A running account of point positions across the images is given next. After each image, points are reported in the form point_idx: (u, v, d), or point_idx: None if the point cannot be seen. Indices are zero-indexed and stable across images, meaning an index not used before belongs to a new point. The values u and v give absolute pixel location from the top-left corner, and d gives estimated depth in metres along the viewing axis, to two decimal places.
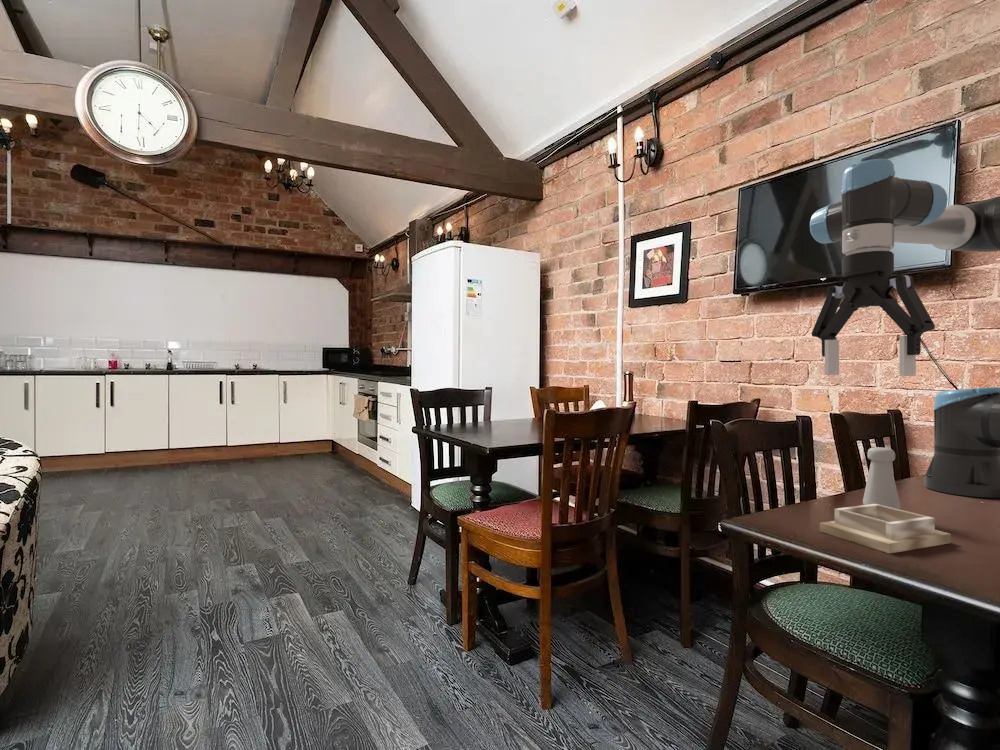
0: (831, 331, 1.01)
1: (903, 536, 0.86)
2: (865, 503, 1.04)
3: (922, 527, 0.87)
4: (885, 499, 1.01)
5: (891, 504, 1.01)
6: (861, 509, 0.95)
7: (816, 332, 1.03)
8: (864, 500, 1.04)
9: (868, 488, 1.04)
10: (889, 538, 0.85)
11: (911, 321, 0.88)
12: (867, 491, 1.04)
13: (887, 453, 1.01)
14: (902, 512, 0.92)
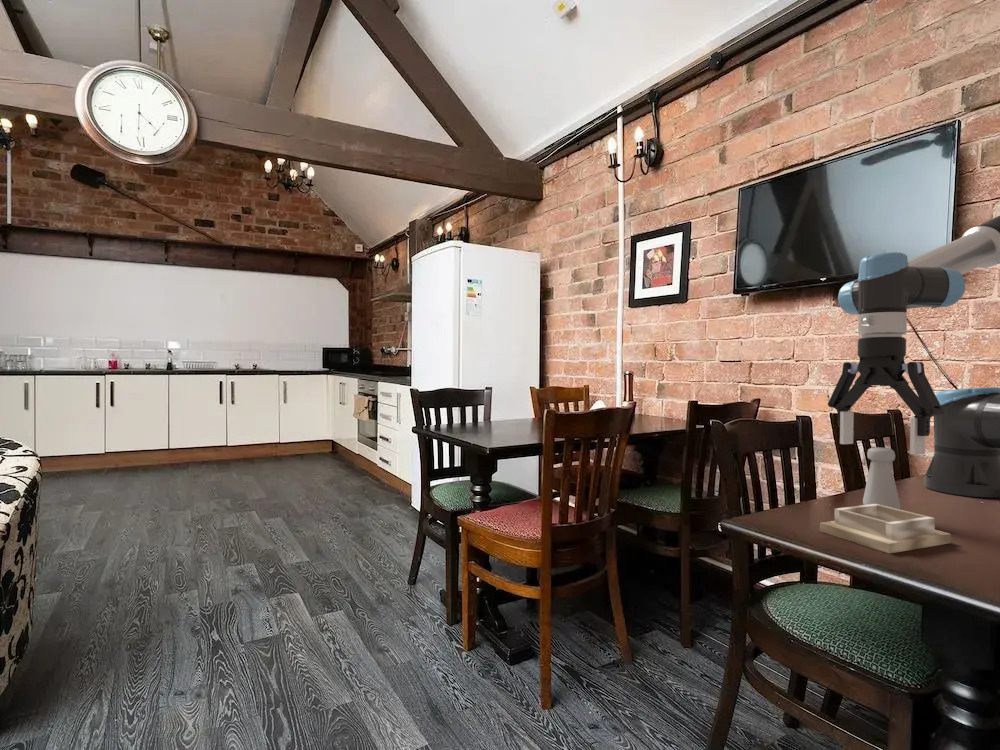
0: (846, 404, 1.09)
1: (903, 536, 0.86)
2: (865, 503, 1.04)
3: (922, 527, 0.87)
4: (885, 499, 1.01)
5: (891, 504, 1.01)
6: (861, 509, 0.95)
7: (832, 403, 1.11)
8: (864, 500, 1.04)
9: (868, 488, 1.04)
10: (889, 538, 0.85)
11: (921, 404, 0.96)
12: (867, 491, 1.04)
13: (887, 453, 1.01)
14: (902, 512, 0.92)
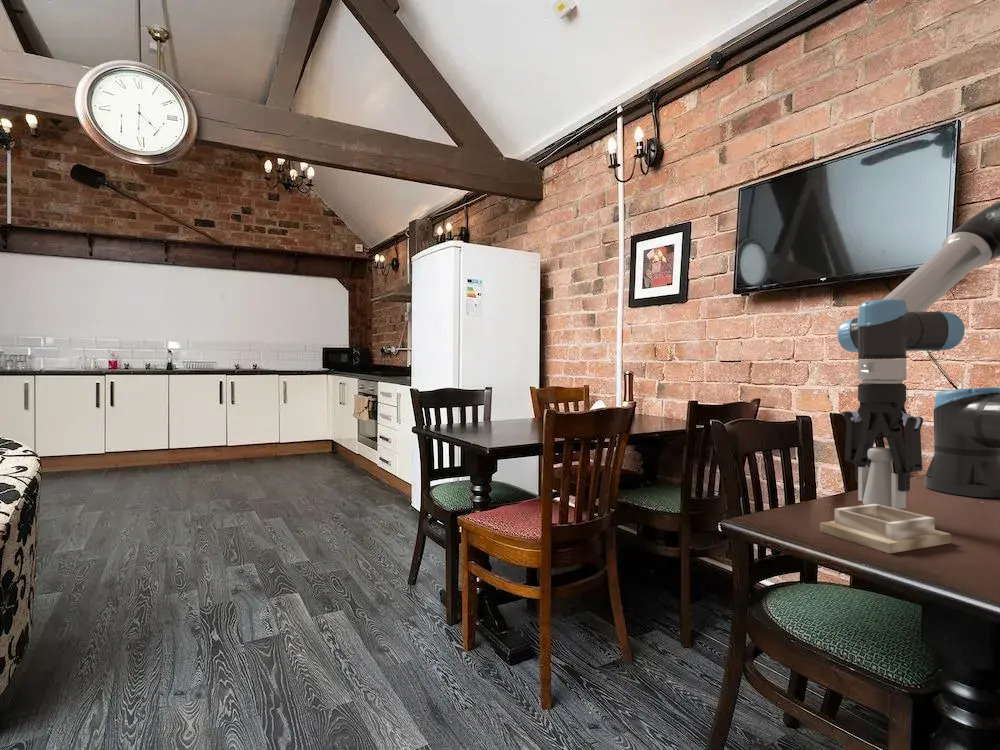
0: (862, 456, 1.06)
1: (903, 536, 0.86)
2: (865, 503, 1.04)
3: (922, 527, 0.87)
4: (885, 499, 1.01)
5: None
6: (861, 509, 0.95)
7: (849, 456, 1.08)
8: (864, 500, 1.04)
9: (868, 488, 1.04)
10: (889, 538, 0.85)
11: (905, 460, 0.99)
12: (867, 491, 1.04)
13: (887, 453, 1.01)
14: (902, 512, 0.92)
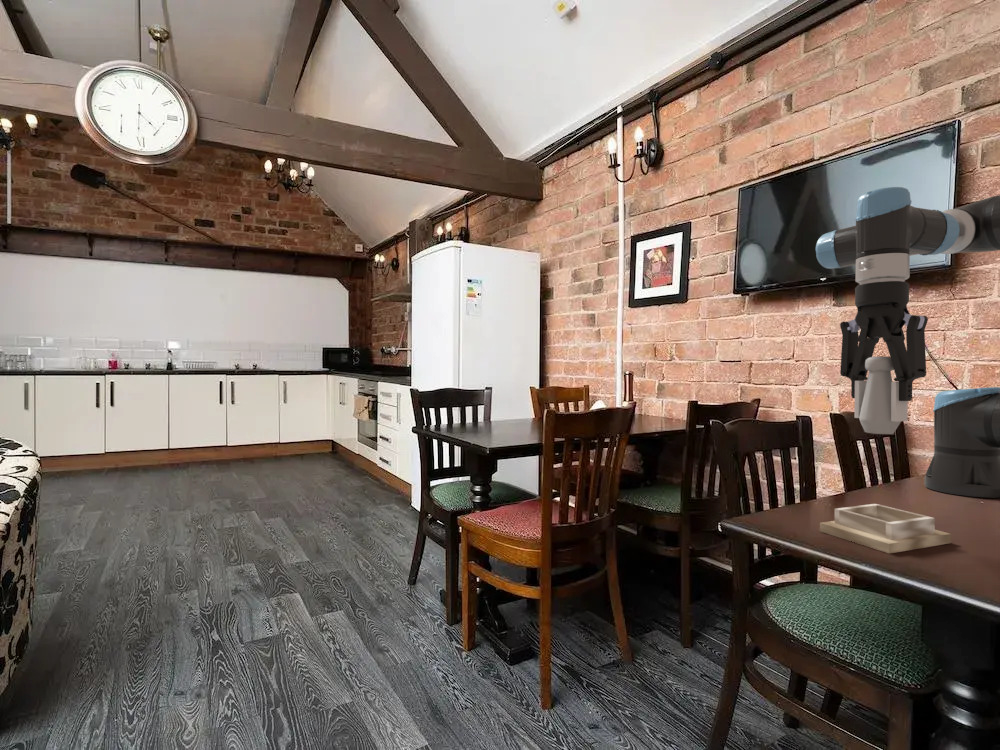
0: (859, 369, 0.95)
1: (903, 536, 0.86)
2: (862, 418, 0.93)
3: (922, 527, 0.87)
4: (883, 412, 0.90)
5: (890, 416, 0.90)
6: (861, 509, 0.95)
7: (845, 371, 0.97)
8: (861, 415, 0.93)
9: (865, 401, 0.93)
10: (889, 538, 0.85)
11: (907, 366, 0.89)
12: (864, 405, 0.93)
13: (887, 360, 0.91)
14: (902, 512, 0.92)
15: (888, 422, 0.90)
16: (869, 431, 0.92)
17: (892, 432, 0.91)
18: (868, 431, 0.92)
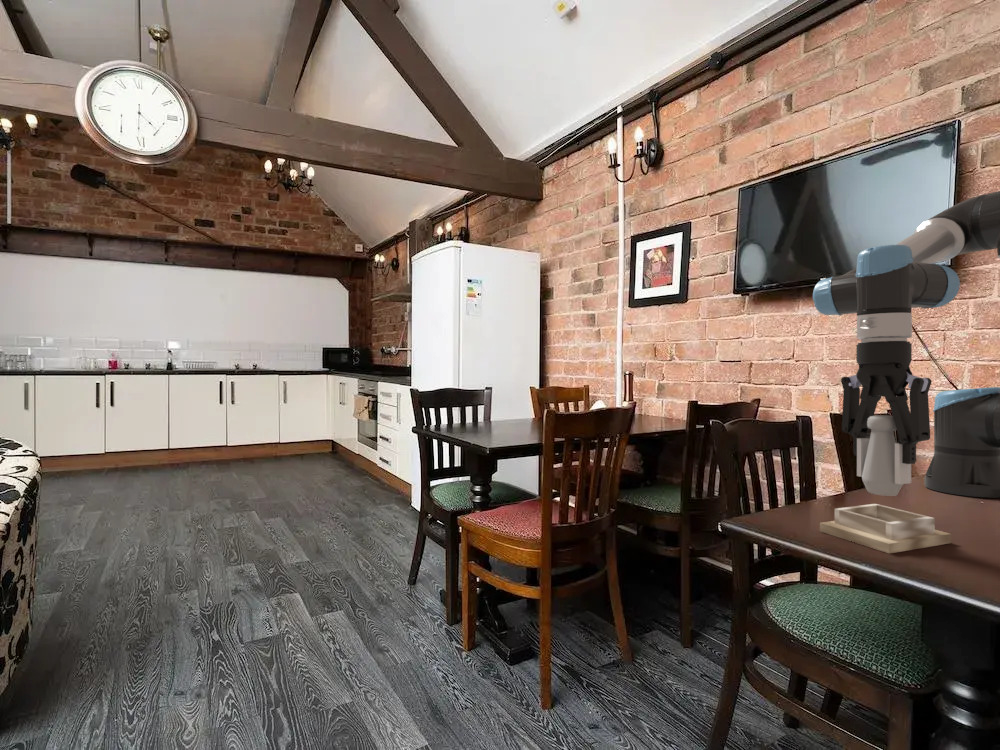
0: (861, 426, 0.93)
1: (903, 536, 0.86)
2: (864, 478, 0.91)
3: (922, 527, 0.87)
4: (887, 474, 0.88)
5: (894, 478, 0.88)
6: (861, 509, 0.95)
7: (846, 427, 0.96)
8: (863, 475, 0.92)
9: (868, 461, 0.91)
10: (889, 538, 0.85)
11: (911, 428, 0.87)
12: (867, 465, 0.91)
13: (890, 420, 0.89)
14: (902, 512, 0.92)
15: (891, 484, 0.88)
16: (872, 492, 0.90)
17: (896, 494, 0.89)
18: (871, 492, 0.91)
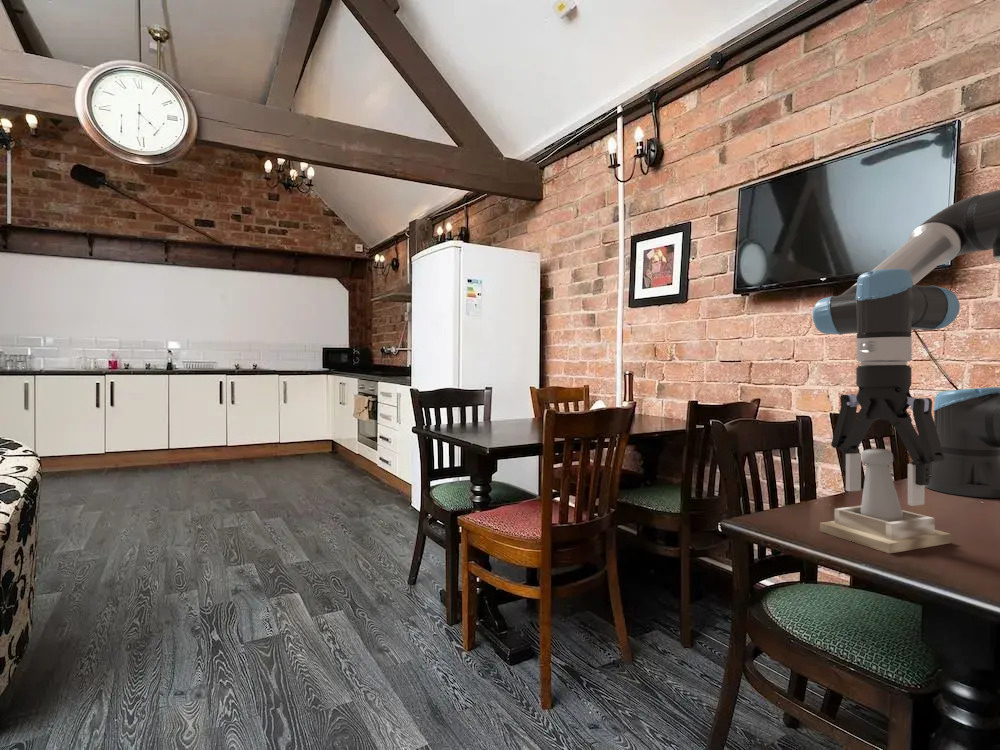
0: (852, 444, 0.95)
1: (903, 536, 0.86)
2: (863, 513, 0.91)
3: (922, 527, 0.87)
4: (885, 508, 0.89)
5: (892, 512, 0.88)
6: None
7: (836, 443, 0.98)
8: (862, 510, 0.92)
9: (865, 496, 0.91)
10: (889, 538, 0.85)
11: (922, 448, 0.85)
12: (864, 499, 0.92)
13: (884, 454, 0.90)
14: None
15: (890, 518, 0.88)
16: None
17: None
18: None
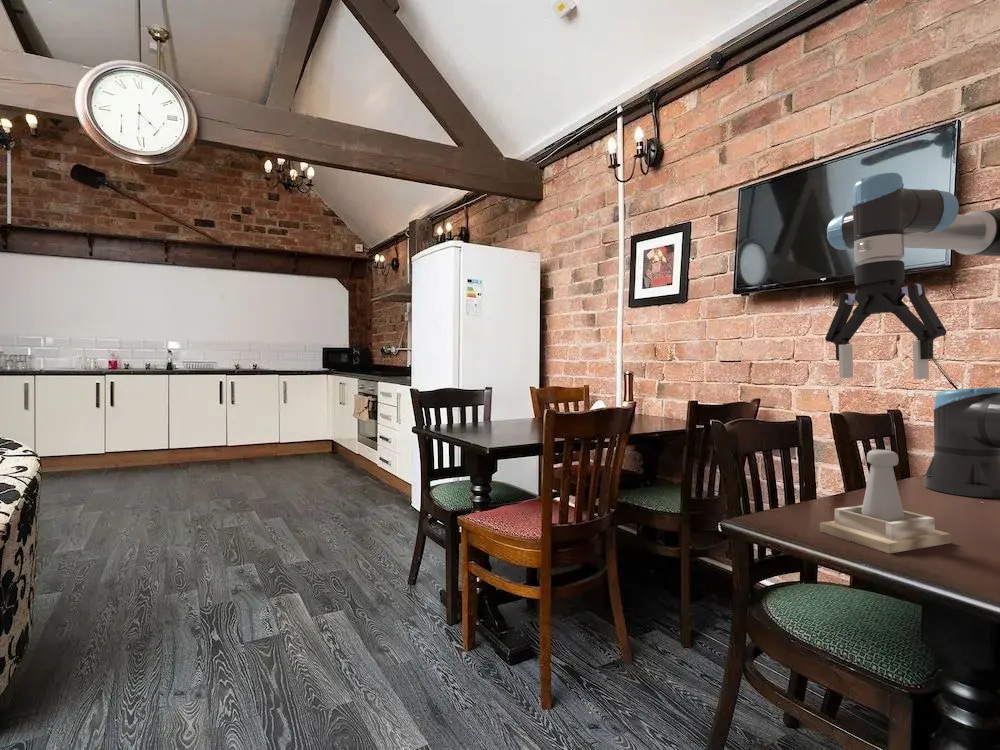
0: (845, 336, 1.05)
1: (903, 536, 0.86)
2: (864, 513, 0.91)
3: (922, 527, 0.87)
4: (887, 509, 0.89)
5: (894, 514, 0.88)
6: (861, 509, 0.95)
7: (830, 337, 1.08)
8: (863, 510, 0.92)
9: (868, 496, 0.91)
10: (889, 538, 0.85)
11: (923, 327, 0.93)
12: (866, 499, 0.91)
13: (890, 456, 0.89)
14: None
15: (891, 520, 0.88)
16: None
17: None
18: None
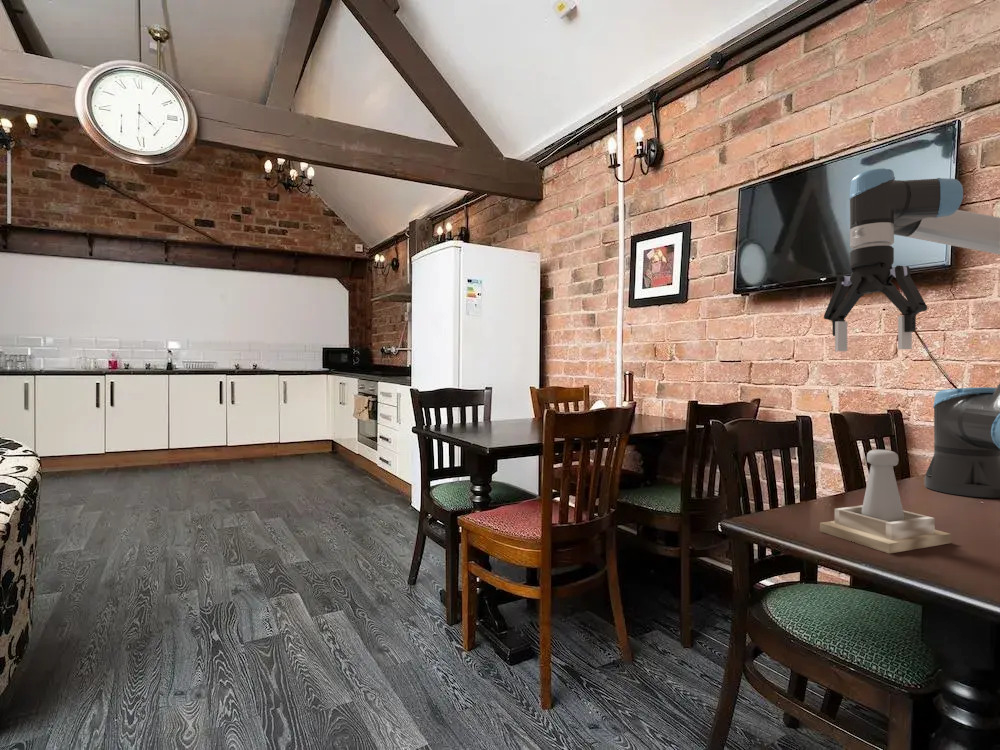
0: (840, 314, 1.19)
1: (903, 536, 0.86)
2: (864, 513, 0.91)
3: (922, 527, 0.87)
4: (887, 509, 0.89)
5: (894, 514, 0.88)
6: (861, 509, 0.95)
7: (827, 315, 1.21)
8: (863, 510, 0.92)
9: (868, 496, 0.91)
10: (889, 538, 0.85)
11: (908, 304, 1.06)
12: (866, 499, 0.91)
13: (890, 456, 0.89)
14: None
15: (891, 520, 0.88)
16: None
17: None
18: None
